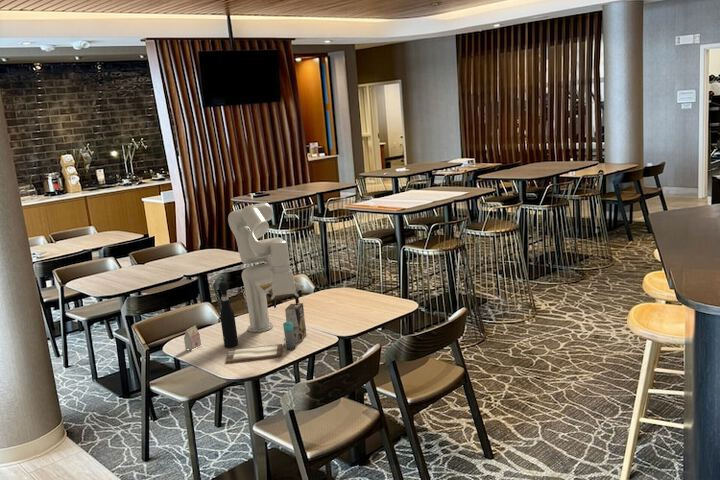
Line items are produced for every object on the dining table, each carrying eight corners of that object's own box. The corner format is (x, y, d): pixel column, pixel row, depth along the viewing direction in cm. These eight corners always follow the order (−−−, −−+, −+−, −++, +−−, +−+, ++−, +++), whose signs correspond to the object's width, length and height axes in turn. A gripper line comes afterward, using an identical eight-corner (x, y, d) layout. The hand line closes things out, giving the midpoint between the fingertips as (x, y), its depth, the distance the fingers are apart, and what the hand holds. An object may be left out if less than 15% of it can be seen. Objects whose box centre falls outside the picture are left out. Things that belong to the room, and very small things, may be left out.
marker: (286, 347, 301) (283, 322, 298) (295, 346, 301) (292, 321, 299) (286, 351, 297) (282, 325, 294) (295, 349, 297) (292, 324, 295)
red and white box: (185, 350, 310) (182, 330, 308) (195, 345, 316) (192, 325, 314) (192, 351, 308) (189, 330, 306) (201, 345, 314) (198, 325, 312)
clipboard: (229, 352, 302) (228, 347, 302) (282, 345, 304) (281, 341, 303) (225, 363, 288) (225, 359, 288) (281, 357, 290) (280, 352, 289)
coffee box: (301, 342, 306) (297, 308, 303) (288, 342, 307) (284, 309, 304) (307, 335, 314) (303, 302, 311) (294, 335, 316) (290, 303, 313)
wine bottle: (240, 343, 312) (232, 281, 306) (234, 348, 306) (225, 285, 300) (228, 343, 314) (220, 281, 308) (221, 348, 308) (213, 285, 302)
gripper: (261, 272, 287) (266, 310, 291) (301, 268, 288) (305, 306, 292) (262, 268, 295) (266, 305, 298) (301, 264, 296) (305, 301, 299)
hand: (286, 305), depth 295 cm, fingers open, 9 cm apart
